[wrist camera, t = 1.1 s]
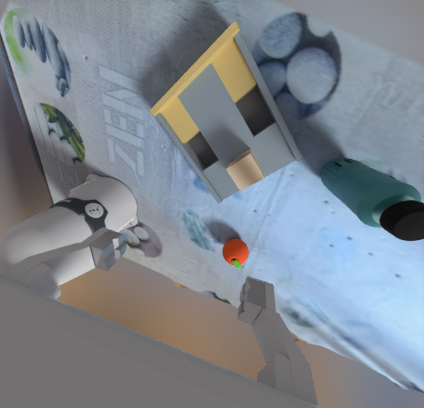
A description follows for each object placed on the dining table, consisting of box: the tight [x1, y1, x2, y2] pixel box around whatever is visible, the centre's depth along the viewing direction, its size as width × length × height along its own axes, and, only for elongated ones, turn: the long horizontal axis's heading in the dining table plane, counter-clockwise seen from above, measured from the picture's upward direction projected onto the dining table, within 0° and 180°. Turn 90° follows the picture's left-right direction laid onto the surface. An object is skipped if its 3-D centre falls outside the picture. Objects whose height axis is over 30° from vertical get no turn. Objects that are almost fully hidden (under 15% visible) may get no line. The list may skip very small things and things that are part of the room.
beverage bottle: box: [321, 158, 424, 241], centre depth 26 cm, size 6×7×20 cm
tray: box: [149, 20, 303, 204], centre depth 33 cm, size 23×19×5 cm
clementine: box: [223, 239, 249, 268], centre depth 45 cm, size 8×7×7 cm
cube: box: [226, 149, 265, 191], centre depth 32 cm, size 5×5×5 cm
